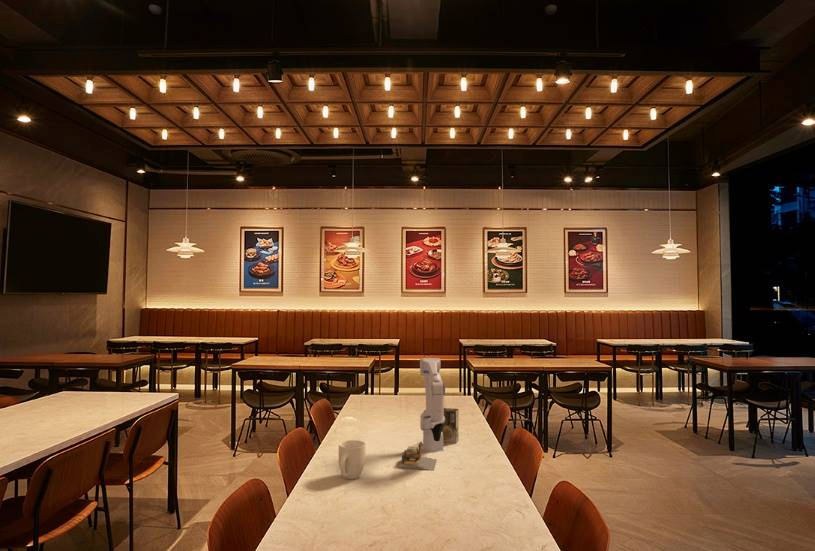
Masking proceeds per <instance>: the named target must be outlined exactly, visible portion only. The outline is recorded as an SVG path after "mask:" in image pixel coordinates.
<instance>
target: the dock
mask: <svg viewBox="0 0 815 551" xmlns="http://www.w3.org/2000/svg"><path fill="white" fill-rule="evenodd" d="M406 453H407V449H404V452H403V453H402V455H401V461H400V463H399V465H398V468H399V469H404V470H406V469H407V470H418V471H419V470H420V471H431V472H432V471H435V468H436V465H437V460H438V459H437V458H432V457H428V456H422V455H421V456H420V457H419V460H416V459H415V458H416V457H410V459H409V460H407V458H406Z"/></svg>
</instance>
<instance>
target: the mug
mask: <svg viewBox="0 0 815 551" xmlns="http://www.w3.org/2000/svg"><path fill="white" fill-rule="evenodd" d="M366 451H367V450H366V442H365V441H364V440H359V439H348V440H343V441H341V442H340V443H338V464H339V465H338V466H339V470H340V475H341V476H343V478H344V479H346V480H356V479H358V478H360V477H361V475H362V473H363V471H364V467H365V465H366Z"/></svg>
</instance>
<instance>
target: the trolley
mask: <svg viewBox="0 0 815 551" xmlns="http://www.w3.org/2000/svg"><path fill="white" fill-rule="evenodd" d="M422 447H423V441H420V442H419V444H418V446H407V448H406V450H407V453H406V458H407V460H409V459H410V457H416V458H415V459H416V460H419V457H420V456H422V452H423V450H422Z"/></svg>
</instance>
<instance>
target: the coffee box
mask: <svg viewBox="0 0 815 551" xmlns="http://www.w3.org/2000/svg"><path fill="white" fill-rule="evenodd" d="M444 416H445V421H444V422H443V424H444V427H443V429H442V433H443V443H451V444H457V443H458V442H457V441H459V431H460V430H459V409H458V408H451V407H444Z"/></svg>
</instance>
